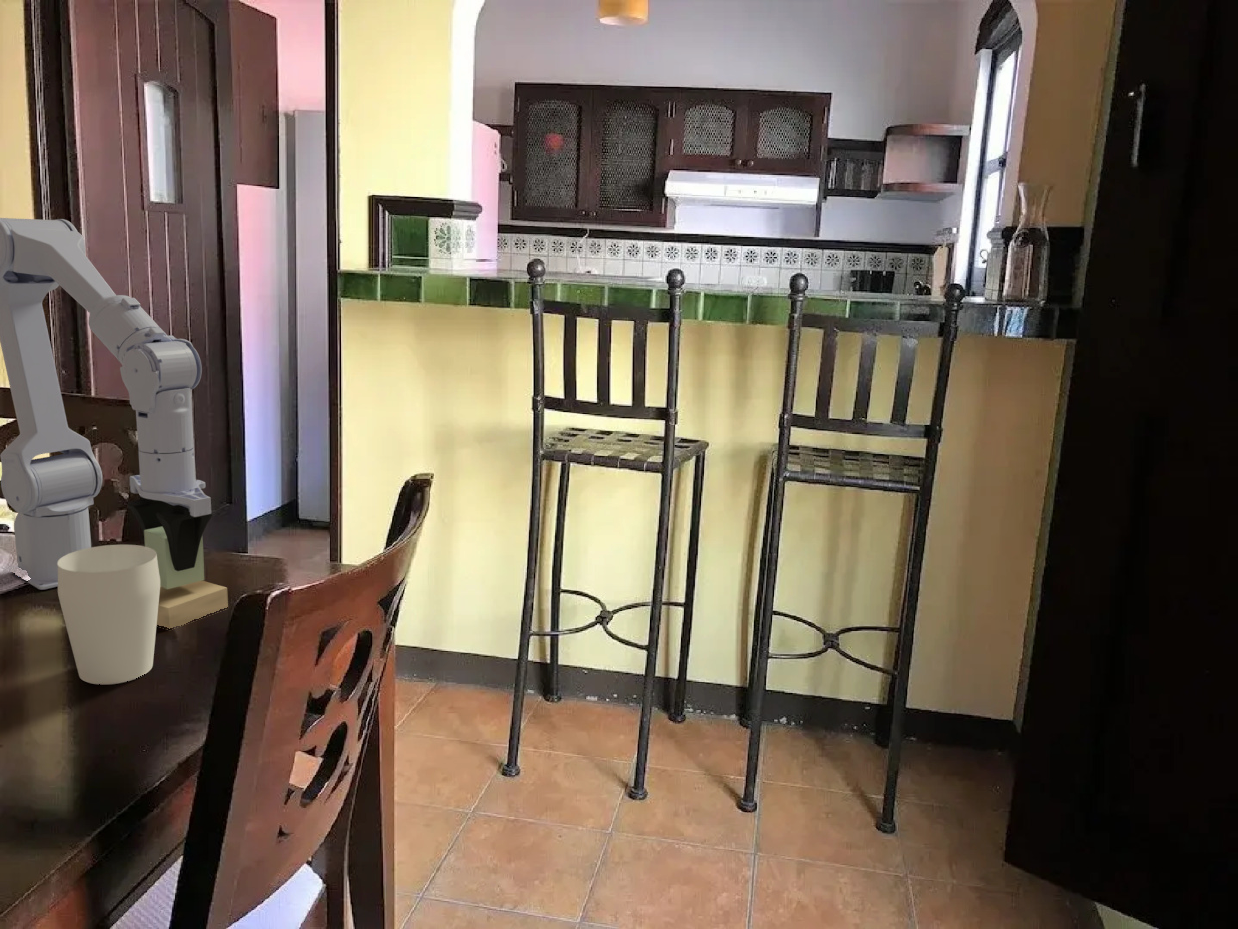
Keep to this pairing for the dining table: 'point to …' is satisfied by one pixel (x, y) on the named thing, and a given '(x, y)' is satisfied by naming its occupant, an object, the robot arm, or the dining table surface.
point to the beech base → (189, 603)
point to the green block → (167, 573)
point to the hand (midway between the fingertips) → (173, 563)
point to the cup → (110, 610)
